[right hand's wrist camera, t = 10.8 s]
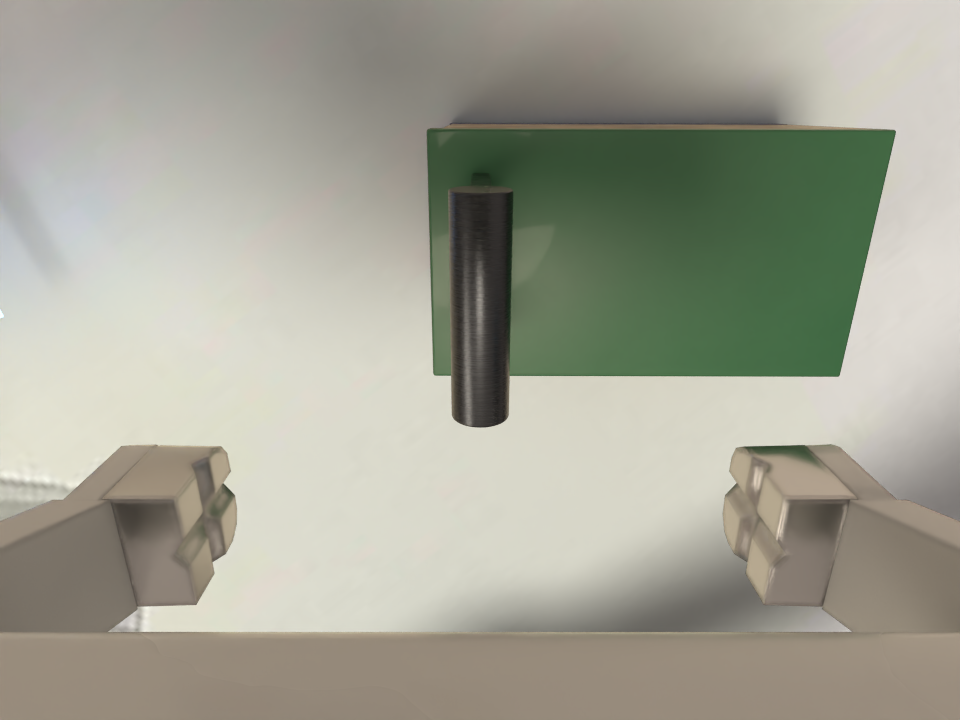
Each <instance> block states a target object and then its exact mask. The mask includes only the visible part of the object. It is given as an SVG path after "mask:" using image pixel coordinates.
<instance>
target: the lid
mask: <svg viewBox="0 0 960 720" xmlns="http://www.w3.org/2000/svg"><path fill="white" fill-rule="evenodd" d="M895 134H896V131H895V130H887V129H632V128H430V129H428V130H427V159H428V195H429V231H430V268H431V304H432V340H433V373H434V375H439V376H451V392H452V416H453V418H454V420H455V421H457V422H458V423H460V424H463V425H466V426H470V427H491V426H495V425H498V424H501V423H502V422H504V421H505V420H506V419H507V418H508V415H509V376H808V377H838V376H839V375H840V371H841V367H842V363H843V358H844V354H845V350H846V345H847V341H848V337H849V333H850V328H851V324H852V320H853V315H854V311H855V307H856V302H857V298H858V294H859V289H860V285H861V281H862V276H863V272H864V268H865V263H866V259H867V255H868V250H869V246H870V242H871V237H872V233H873V229H874V224H875V220H876V216H877V211H878V207H879V203H880V198H881V194H882V190H883V185H884V181H885V177H886V172H887V168H888V164H889V160H890V155H891V151H892V147H893V142H894V138H895Z"/></svg>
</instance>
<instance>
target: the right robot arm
mask: <svg viewBox="0 0 960 720" xmlns="http://www.w3.org/2000/svg"><path fill="white" fill-rule="evenodd" d="M1 317H4V316H3V314H2V312H1V311H0V318H1ZM230 472H231V470H230V465H229V460H228V455H227V452H226V451H225V450H224V449H223V448H222V447H221V446H172V445H160V446H158V445H128V446H121V447H120V448H119V449H118V450H117V451H116V452H115V453H114V454H112V455H111V456H110V457H109V458H108V459H107V460H106V461H105V462H104V463H103V464H102V465H100V466H99V467H98V468H97V469H96V470H95V471H94V472H93V473H92V474H91V475H90V476H89V477H87V478H86V479H85V480H84V481H83V482H82V483H81V484H80V485H79V486H78V487H77V488H75V489H74V490H73V491H72V492H71V493H70V494H69V495H68V496H67V497H66V498H65V499H64V500H51V501H49V502H46V503H44V504H41V505H39V506H37V507H34V508H32V509H29V510H27V511H24V512H22V513H19V514H17V515H14V516H12V517H10V518H7V519H5V520H2V521H0V720H960V521H958V520H955V519H953V518H950V517H948V516H945V515H943V514H941V513H938V512H936V511H933V510H931V509H928V508H926V507H923V506H921V505H919V504H916V503H914V502H911V501H909V500H897V499H895V498H894V497H893V496H892V495H891V494H890V493H889V492H888V491H887V490H886V489H885V488H884V487H882V486H881V485H880V484H879V483H878V482H877V481H876V480H875V479H874V478H873V477H872V476H871V475H869V474H868V473H867V472H866V471H865V470H864V469H863V468H862V467H861V466H860V465H859V464H858V463H856V462H855V461H854V460H853V459H852V458H851V457H850V456H849V455H848V454H847V453H846V452H845V451H843V450H842V449H841V448H840V447H838V446H835V445H831V444H830V445H807V446H805V445H793V446H751V447H739V448H736V449H735V451H734V454H733V456H732V459H731V464H730V470H729V472H730V473H731V475H732V476H733V478H734V479H735V481H736V483H737V484H736V485H735V486H734V487H733V488H732V489H731V490H730V491H729V492H728V493H727V494H726V495H725V500H724V508H723V522H724V531H725V534H726V537H727V541H728V543H729V545H730V547H731V549H732V551H733V552H734V554H735V555H737V556H739V557H740V558H742V559H743V560H745V561H747V562H748V563H747V568H746V575H747V577H748V579H749V580H750V582H751V584H752V585H753V587H754V589H755V591H756V592H757V594H758V596H759V597H760V599H761V601H762V603H763V604H764V605H785V606H822V607H823V608H822V609H823V610H824V611H826V612H827V613H828V614H830V615H831V616H832V617H834V618H835V619H836V620H838V621H839V622H840V623H842V624H843V625H844V626H846V627H847V628H848V629H850V630H851V631H852V632H108V631H109V630H111V629H112V628H113V627H115V626H116V625H117V624H119V623H120V622H121V621H123V620H124V619H125V618H127V617H128V616H129V615H131V614H132V613H133V612H135V611H136V610H137V609H138V608H137V606H173V605H196V604H197V603H198V601H199V599H200V598H201V596H202V594H203V592H204V591H205V589H206V587H207V586H208V584H209V582H210V580H211V579H212V577H213V575H214V568H213V563H212V562H213V561H215V560H217V559H218V558H220V557H221V556H223V555H225V554H226V552H227V551H228V549H229V547H230V545H231V543H232V541H233V538H234V533H235V529H236V525H237V506H236V499H235V495H234V494H233V493H232V492H231V491H230V490H229V489H228V488H227V487H226V486H225V485H224V484H223V483H224V481H225V479H226V478H227V476H228V475H229V473H230Z"/></svg>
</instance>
